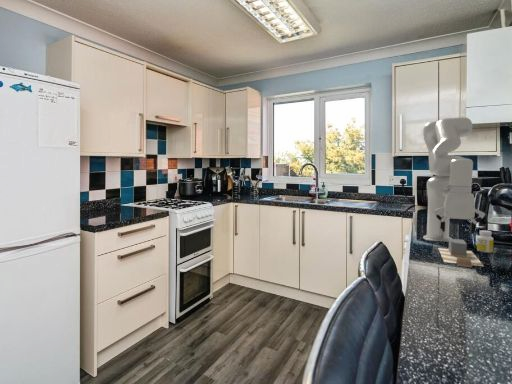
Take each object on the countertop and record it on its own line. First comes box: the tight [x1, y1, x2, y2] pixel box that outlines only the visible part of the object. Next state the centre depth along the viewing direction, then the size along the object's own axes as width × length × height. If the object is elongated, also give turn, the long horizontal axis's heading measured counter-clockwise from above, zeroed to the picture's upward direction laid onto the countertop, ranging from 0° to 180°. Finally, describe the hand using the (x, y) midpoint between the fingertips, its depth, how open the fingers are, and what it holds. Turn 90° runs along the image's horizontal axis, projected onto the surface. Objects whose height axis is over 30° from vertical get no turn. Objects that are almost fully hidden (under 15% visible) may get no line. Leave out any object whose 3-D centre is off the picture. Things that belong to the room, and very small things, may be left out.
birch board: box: [437, 247, 485, 267], centre depth 118 cm, size 22×12×2 cm, turn 154°
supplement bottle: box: [476, 229, 494, 254], centre depth 126 cm, size 5×5×10 cm
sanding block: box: [448, 238, 468, 257], centre depth 122 cm, size 8×5×5 cm, turn 154°
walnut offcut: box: [455, 258, 473, 269], centre depth 107 cm, size 4×4×2 cm
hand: (457, 232), depth 122 cm, fingers open, 9 cm apart
